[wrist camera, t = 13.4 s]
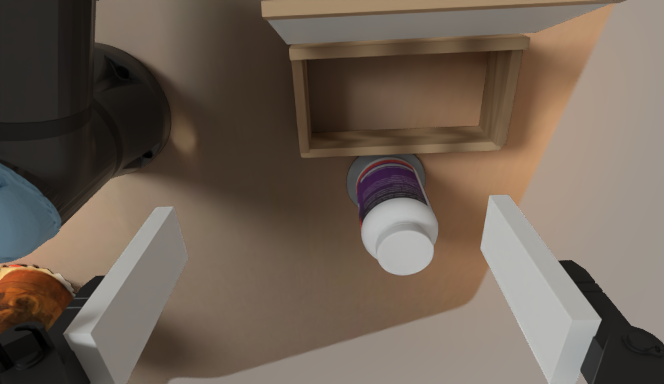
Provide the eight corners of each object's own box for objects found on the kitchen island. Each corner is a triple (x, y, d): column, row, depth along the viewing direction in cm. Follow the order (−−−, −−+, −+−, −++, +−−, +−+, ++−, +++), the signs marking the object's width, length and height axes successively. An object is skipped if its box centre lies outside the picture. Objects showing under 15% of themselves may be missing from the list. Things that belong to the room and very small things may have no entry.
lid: (262, 16, 25) (261, 1, 24) (287, 46, 36) (286, 35, 36) (630, -2, 24) (631, -18, 24) (535, 34, 35) (536, 23, 35)
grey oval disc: (347, 214, 54) (347, 217, 54) (345, 146, 49) (345, 148, 49) (421, 212, 54) (422, 214, 54) (427, 143, 49) (428, 145, 49)
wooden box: (304, 140, 49) (300, 165, 43) (295, 36, 43) (288, 49, 37) (486, 133, 48) (507, 157, 42) (502, 26, 43) (530, 37, 36)
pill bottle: (342, 180, 51) (345, 250, 39) (393, 141, 48) (413, 203, 36) (381, 219, 54) (396, 297, 42) (431, 185, 51) (462, 257, 39)
